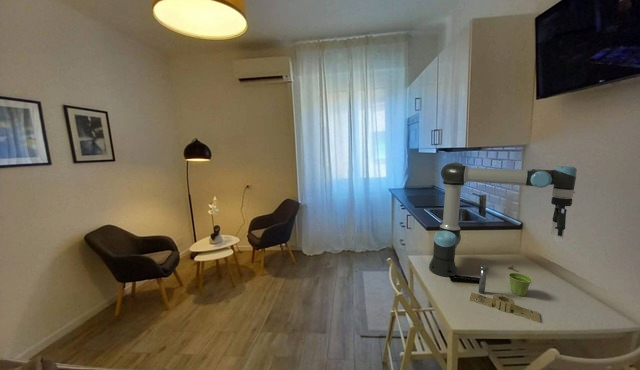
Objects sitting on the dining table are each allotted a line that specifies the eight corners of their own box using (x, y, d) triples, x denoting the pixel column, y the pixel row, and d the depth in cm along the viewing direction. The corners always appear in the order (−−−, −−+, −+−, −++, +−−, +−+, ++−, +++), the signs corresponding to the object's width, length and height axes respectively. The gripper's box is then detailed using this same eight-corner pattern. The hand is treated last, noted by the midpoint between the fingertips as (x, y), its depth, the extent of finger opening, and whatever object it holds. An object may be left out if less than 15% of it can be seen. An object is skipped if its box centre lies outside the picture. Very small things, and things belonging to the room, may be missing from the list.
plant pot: (524, 300, 122) (526, 283, 121) (502, 290, 131) (504, 275, 129) (533, 295, 127) (535, 279, 125) (512, 286, 135) (514, 271, 134)
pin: (476, 292, 129) (479, 267, 127) (477, 289, 132) (480, 264, 130) (485, 295, 126) (488, 269, 124) (486, 292, 129) (488, 266, 127)
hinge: (469, 300, 122) (470, 293, 121) (471, 293, 128) (472, 286, 128) (540, 323, 106) (541, 314, 106) (538, 313, 113) (539, 305, 112)
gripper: (577, 202, 114) (571, 247, 117) (568, 194, 133) (562, 233, 136) (555, 200, 118) (549, 243, 121) (549, 193, 138) (544, 230, 141)
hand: (556, 237), depth 129 cm, fingers open, 13 cm apart
